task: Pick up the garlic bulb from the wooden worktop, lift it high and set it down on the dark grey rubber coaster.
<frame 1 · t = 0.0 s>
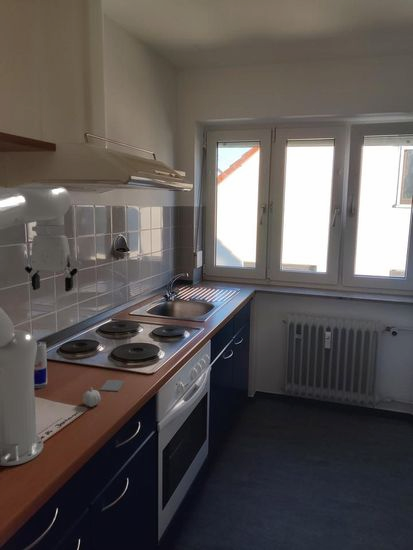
hand: (52, 289, 125), 37 cm above the worktop, tool pointing down, fingers open, 9 cm apart
white bottle: (39, 386, 146), on the worktop
coaster: (112, 386, 147), on the worktop
garlic: (91, 405, 134), on the worktop
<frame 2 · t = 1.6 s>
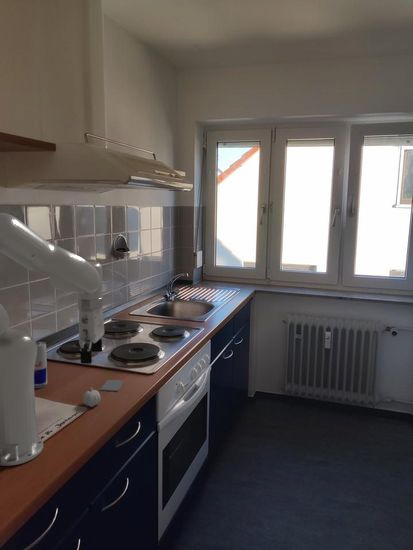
hand: (91, 357, 132), 15 cm above the worktop, tool pointing down, fingers open, 9 cm apart
nothing on the worktop moved.
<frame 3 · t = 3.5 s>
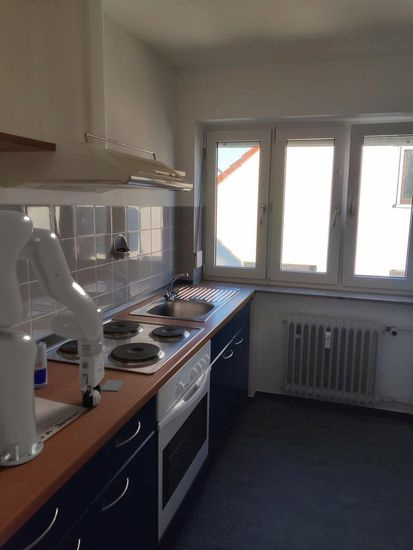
hand: (91, 401, 134), 1 cm above the worktop, tool pointing down, fingers closed on garlic, 6 cm apart
garlic: (91, 405, 134), on the worktop, touching gripper
everything else where it was.
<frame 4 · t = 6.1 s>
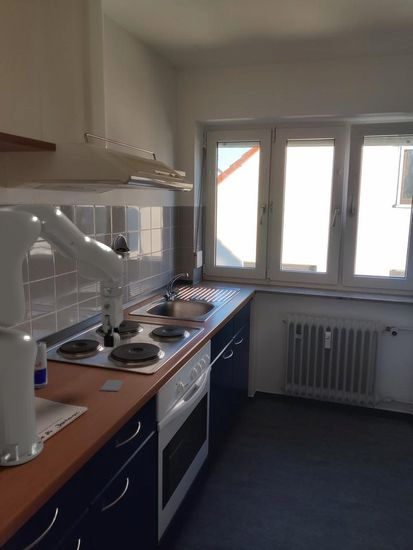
hand: (112, 343, 145), 15 cm above the worktop, tool pointing down, fingers closed on garlic, 6 cm apart
garlic: (112, 346, 145), point 14 cm above the worktop, touching gripper
everything else where it was.
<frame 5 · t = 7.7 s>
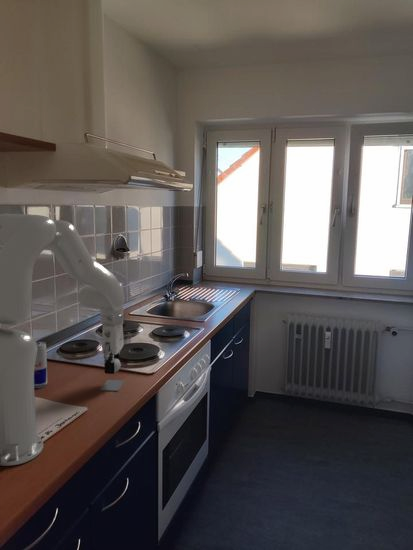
hand: (112, 369, 146), 6 cm above the worktop, tool pointing down, fingers closed on garlic, 6 cm apart
garlic: (112, 371, 147), point 5 cm above the worktop, touching gripper
everything else where it was.
when the fingers open (3 cm above the worktop, at t = 8.9 s): garlic drops 1 cm, resting on coaster.
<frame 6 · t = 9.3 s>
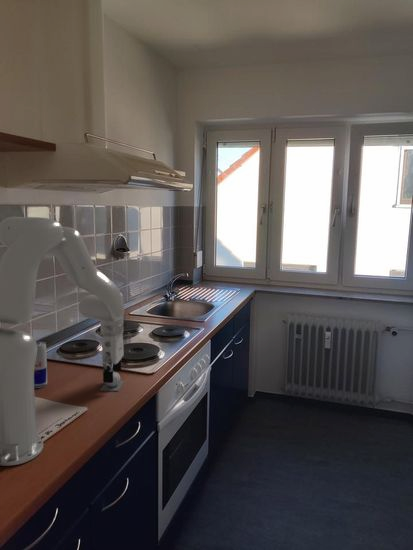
hand: (112, 376, 147), 4 cm above the worktop, tool pointing down, fingers open, 9 cm apart
garlic: (112, 385, 147), resting on coaster
everything else where it was.
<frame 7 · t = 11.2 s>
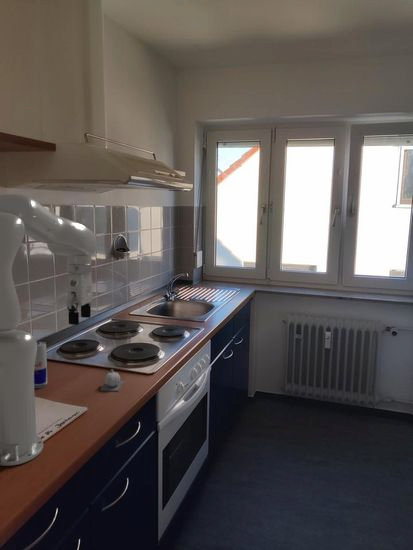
hand: (80, 320, 141), 24 cm above the worktop, tool pointing down, fingers open, 9 cm apart
nothing on the worktop moved.
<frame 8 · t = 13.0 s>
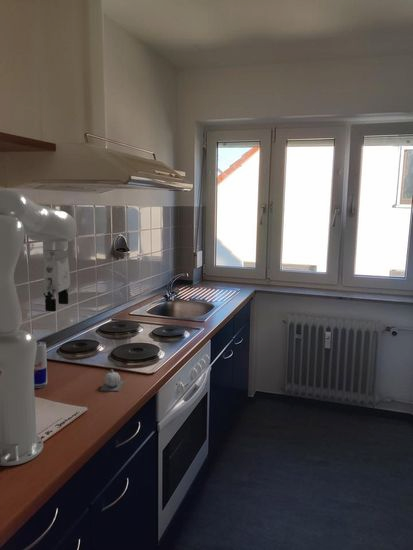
hand: (57, 307, 139), 28 cm above the worktop, tool pointing down, fingers open, 9 cm apart
nothing on the worktop moved.
at the end: garlic inside the target area on the coaster (0.2 cm from its centre), point 0.2 cm above the coaster's base; the gripper is holding nothing; garlic moved 14.0 cm from its start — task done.
